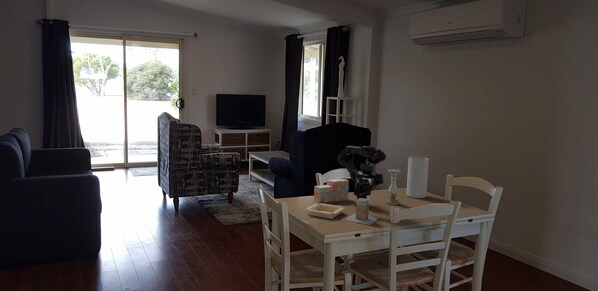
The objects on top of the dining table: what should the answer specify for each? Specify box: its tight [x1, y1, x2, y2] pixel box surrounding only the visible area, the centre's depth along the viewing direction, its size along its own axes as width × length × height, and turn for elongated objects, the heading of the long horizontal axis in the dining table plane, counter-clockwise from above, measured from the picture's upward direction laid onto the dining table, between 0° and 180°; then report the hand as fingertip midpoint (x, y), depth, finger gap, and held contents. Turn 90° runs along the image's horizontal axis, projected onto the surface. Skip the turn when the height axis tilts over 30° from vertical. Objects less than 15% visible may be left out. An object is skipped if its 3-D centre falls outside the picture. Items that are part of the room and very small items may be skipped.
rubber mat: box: [344, 213, 380, 226], centre depth 235 cm, size 14×14×1 cm
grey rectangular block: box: [355, 198, 370, 220], centre depth 235 cm, size 5×5×10 cm
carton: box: [305, 203, 345, 219], centre depth 242 cm, size 17×17×4 cm
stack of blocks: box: [313, 178, 350, 204], centre depth 275 cm, size 21×6×12 cm, turn 122°
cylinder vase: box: [406, 156, 430, 199], centre depth 292 cm, size 12×12×25 cm
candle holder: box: [384, 168, 402, 206], centre depth 272 cm, size 9×9×20 cm
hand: (362, 189), depth 245 cm, fingers open, 9 cm apart
